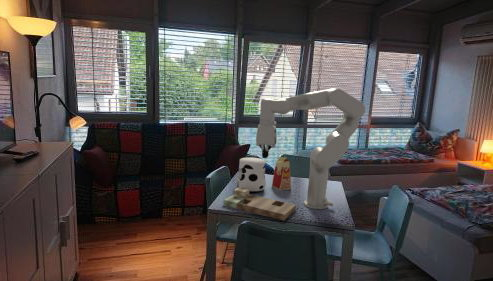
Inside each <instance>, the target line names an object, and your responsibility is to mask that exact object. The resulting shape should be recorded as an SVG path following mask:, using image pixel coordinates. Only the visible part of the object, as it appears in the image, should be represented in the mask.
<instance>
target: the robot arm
mask: <svg viewBox="0 0 493 281" xmlns="http://www.w3.org/2000/svg"><path fill="white" fill-rule="evenodd" d="M330 106H331V107H332V106H334V107H335V108H337V109H338V110H339V111H341V112H342V113H343V117H342V119H341V122H339V124H338V125H337V126H336V128H334V129H333V130H332V132H330V133H329V135H327V136H326V138H325V144H326V145H324V147H323V146H317V147H315V148H313V150H312V151H311V152H310V158H309V160H310V162H309V176H308V184H307V185H308V187H307V195H306V196H307V198H306V199H304V200H303V205H304V206H305V207H307V208H309V209H312V210H313V209H314V210H324V209H327V208H328V207H329V206H330V207H333V206H334V202H333V201H331V200H328V198H327V197H326V196H327V188H328V178H329V169H330V168H332V167H333V166H334V165H335V164H336V163H337V162H338V161H339V160H340V159H341V158H342V157H343V156H344V155H345V154H346V152H347V151H348V149H349V146H350V141H349V140H350V138H351V137H352V136H353V135H354V133H355V132H356V131H357V130H358V128H359V124H360V118H362V117H363V116H364V115H365V113H366V106H365V105H364V103H363V102H361V100H358V99H357V98H356V97H353V96H352V95H351V94H350V93H348V92H346V91H344V90H343V89H342V88H341V89H340V88H329V89H323V90H316V91H312V92H307V93H303V94H299V95H294V96H288V97H284V98H283V97H282V98H279V99H273V98H262V99H261V100H260V110H259V113H260V115H259V124H258V125H257V129H256V136H255V137H256V138H255V146H257V147H259V148H260V149H261V157H262V159H268V158H269V154H270V152H269V151H270V150H271V149H274V148H276V147H277V142H278V141H277V137H278V136H277V126H276V125H277V123H278V122H277V121H275V118H276V117H275V116H276V114H279V115H287V114H289V113H290V112H292V111H299V110H301V111H302V110H307V111H309V110H316V109H320V108H326V107H330Z"/></svg>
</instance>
